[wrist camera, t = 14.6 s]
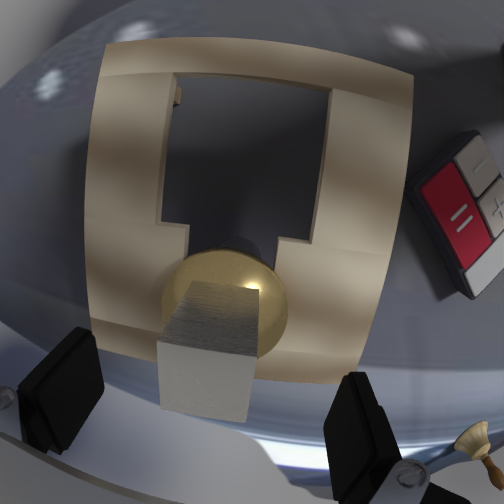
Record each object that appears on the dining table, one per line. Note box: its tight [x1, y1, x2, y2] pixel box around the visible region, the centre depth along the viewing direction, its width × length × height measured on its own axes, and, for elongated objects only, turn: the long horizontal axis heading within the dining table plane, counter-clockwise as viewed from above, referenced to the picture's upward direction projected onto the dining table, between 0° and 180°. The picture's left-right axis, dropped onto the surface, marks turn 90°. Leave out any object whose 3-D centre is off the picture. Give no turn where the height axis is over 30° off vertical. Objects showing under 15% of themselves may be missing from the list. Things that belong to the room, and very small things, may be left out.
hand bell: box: [454, 421, 504, 491], centre depth 29 cm, size 8×8×16 cm
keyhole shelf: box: [84, 37, 414, 384], centre depth 21 cm, size 20×18×12 cm
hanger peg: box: [157, 237, 288, 423], centre depth 18 cm, size 7×7×16 cm
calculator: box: [404, 130, 504, 300], centre depth 25 cm, size 11×4×15 cm
